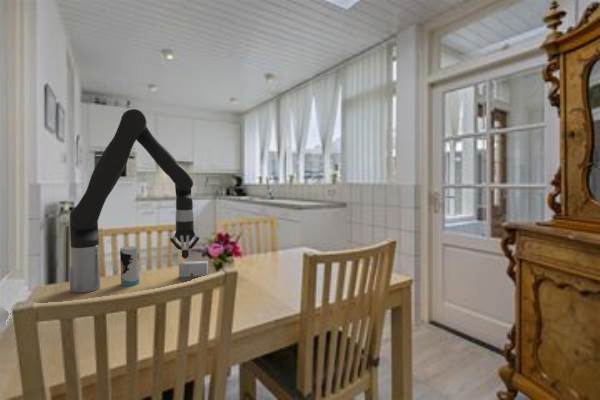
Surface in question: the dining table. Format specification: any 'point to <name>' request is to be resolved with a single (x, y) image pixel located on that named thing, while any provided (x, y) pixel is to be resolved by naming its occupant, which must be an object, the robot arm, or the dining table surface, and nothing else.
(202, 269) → the skincare box
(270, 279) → the dining table surface
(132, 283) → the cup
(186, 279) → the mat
